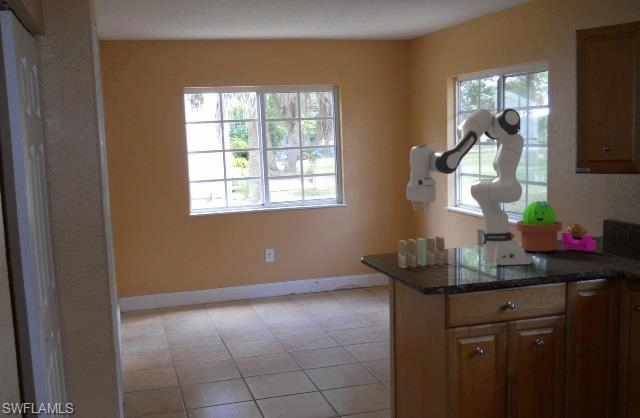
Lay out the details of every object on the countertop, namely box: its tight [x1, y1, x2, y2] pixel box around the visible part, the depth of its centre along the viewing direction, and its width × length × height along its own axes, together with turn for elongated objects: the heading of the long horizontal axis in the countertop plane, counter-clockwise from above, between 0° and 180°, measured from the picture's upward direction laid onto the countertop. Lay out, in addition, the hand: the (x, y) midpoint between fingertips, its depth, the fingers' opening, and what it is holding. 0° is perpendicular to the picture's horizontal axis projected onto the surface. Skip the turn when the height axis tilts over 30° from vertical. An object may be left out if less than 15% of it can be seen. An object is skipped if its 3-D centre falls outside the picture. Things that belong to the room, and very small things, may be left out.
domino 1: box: [407, 238, 418, 268], centre depth 303 cm, size 2×5×12 cm, turn 22°
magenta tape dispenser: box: [561, 231, 597, 251], centre depth 336 cm, size 15×6×8 cm, turn 32°
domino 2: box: [425, 236, 437, 265], centre depth 307 cm, size 2×5×12 cm, turn 22°
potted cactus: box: [516, 200, 563, 252], centre depth 336 cm, size 22×22×25 cm
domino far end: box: [397, 239, 408, 269], centre depth 301 cm, size 2×5×12 cm, turn 22°
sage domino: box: [416, 237, 427, 267], centre depth 305 cm, size 2×5×12 cm, turn 23°
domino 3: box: [435, 235, 446, 265], centre depth 309 cm, size 2×5×12 cm, turn 22°
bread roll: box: [565, 222, 588, 238], centre depth 376 cm, size 13×10×8 cm
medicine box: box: [477, 228, 484, 246], centre depth 355 cm, size 8×4×9 cm, turn 71°
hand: (420, 210), depth 303 cm, fingers open, 7 cm apart
